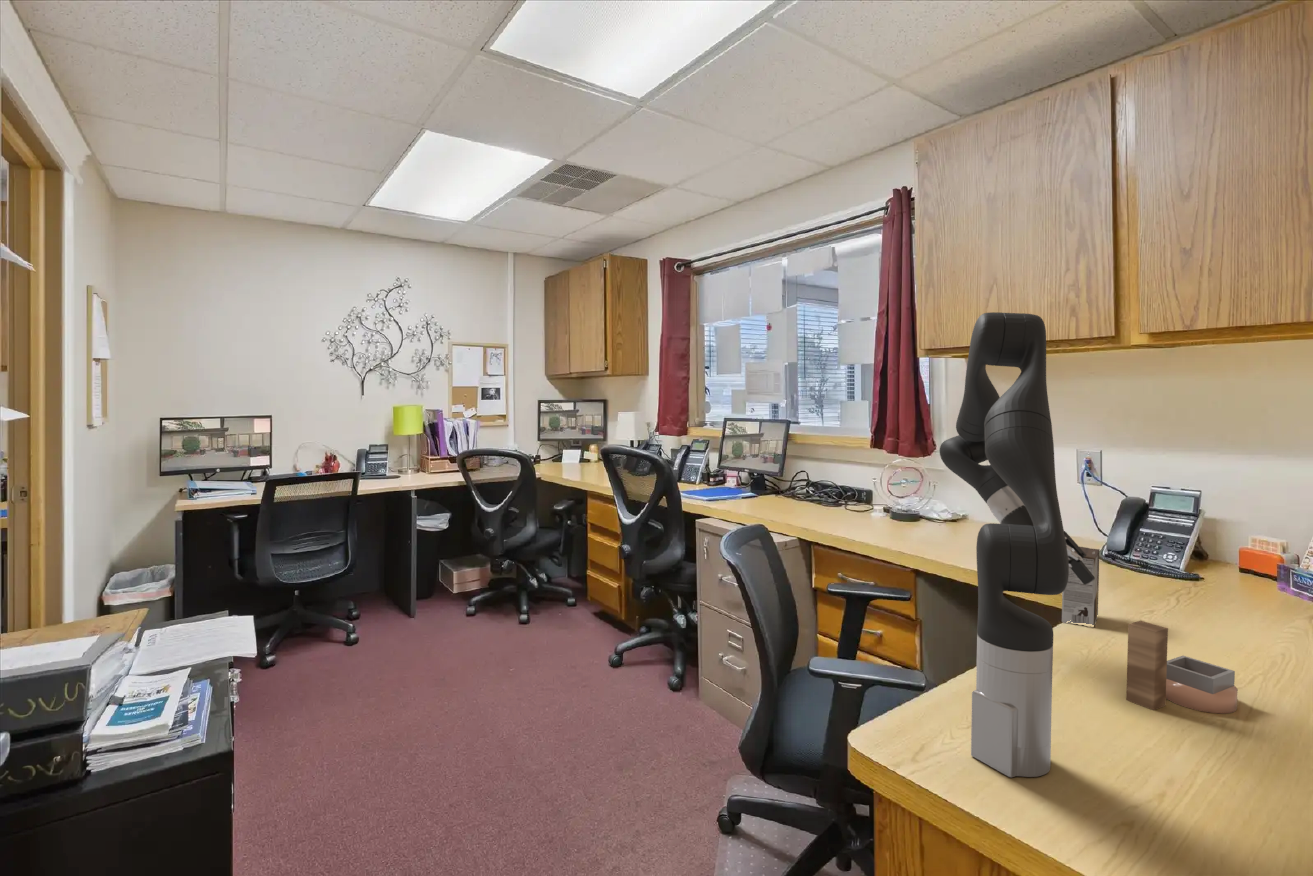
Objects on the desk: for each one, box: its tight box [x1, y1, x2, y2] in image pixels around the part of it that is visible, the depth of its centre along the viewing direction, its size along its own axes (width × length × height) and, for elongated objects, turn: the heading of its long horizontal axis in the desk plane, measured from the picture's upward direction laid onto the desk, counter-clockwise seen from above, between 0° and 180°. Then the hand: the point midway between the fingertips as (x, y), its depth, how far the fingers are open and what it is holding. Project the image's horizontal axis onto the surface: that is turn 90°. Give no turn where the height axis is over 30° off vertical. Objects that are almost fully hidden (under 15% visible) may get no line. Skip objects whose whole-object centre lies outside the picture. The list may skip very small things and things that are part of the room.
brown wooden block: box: [1125, 620, 1169, 711], centre depth 104 cm, size 4×4×13 cm
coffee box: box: [1061, 546, 1100, 626], centre depth 143 cm, size 9×6×16 cm
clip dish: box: [1166, 655, 1239, 714], centre depth 105 cm, size 10×10×6 cm
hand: (1075, 585), depth 114 cm, fingers open, 8 cm apart
